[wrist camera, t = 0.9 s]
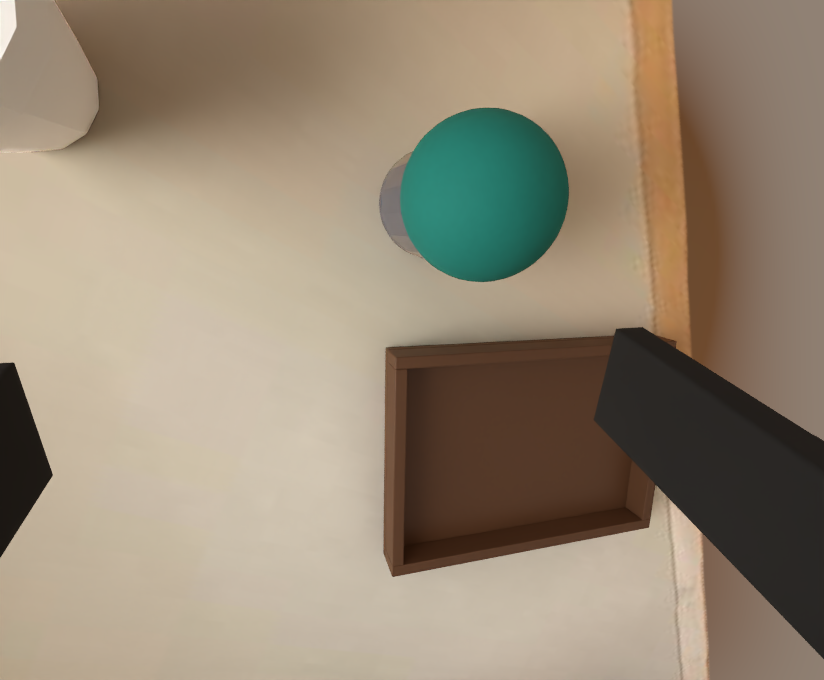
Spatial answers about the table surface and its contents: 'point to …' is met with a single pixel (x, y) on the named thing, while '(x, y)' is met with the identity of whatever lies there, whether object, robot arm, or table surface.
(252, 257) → the table surface
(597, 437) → the tray
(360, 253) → the table surface
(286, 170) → the table surface
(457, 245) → the ball
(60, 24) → the foam cup
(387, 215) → the cup
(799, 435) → the robot arm
